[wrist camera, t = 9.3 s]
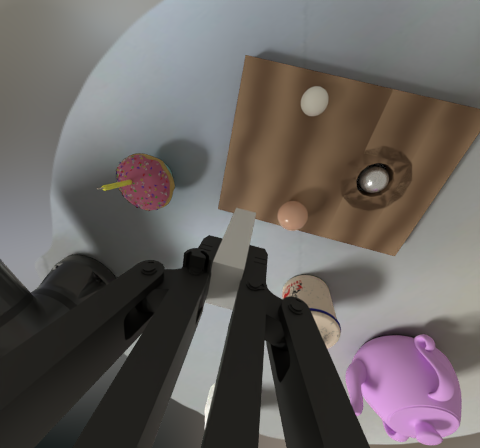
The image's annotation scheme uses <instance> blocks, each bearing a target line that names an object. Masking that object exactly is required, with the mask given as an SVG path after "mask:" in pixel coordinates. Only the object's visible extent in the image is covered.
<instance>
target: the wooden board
mask: <svg viewBox="0 0 480 448" xmlns="http://www.w3.org/2000/svg"><path fill="white" fill-rule="evenodd" d="M314 86H319V87H322V88H324V89H325V90H326V92H327V94H328V105H327V107H326V109H325V110H324V111H323V112H322V113H321V114H319V115H317V116H308V115H306V114H305V113H304V112H303V111H302V108H301V99H302V96H303V94H304V93H305V92H306V91H307V90H308V89H309V88H311V87H314ZM479 132H480V109H477V108H473V107H469V106H464V105H460V104H456V103H451V102H447V101H443V100H438V99H434V98H430V97H425V96H421V95H417V94H412V93H408V92H404V91H399V90H395V89H391V88H386V87H382V86H378V85H373V84H369V83H365V82H360V81H356V80H352V79H347V78H343V77H339V76H334V75H330V74H326V73H321V72H317V71H313V70H308V69H304V68H300V67H295V66H291V65H287V64H282V63H278V62H274V61H269V60H265V59H261V58H256V57H252V56H248V55H246V56H245V62H244V67H243V73H242V78H241V84H240V90H239V95H238V101H237V106H236V112H235V117H234V123H233V128H232V134H231V140H230V145H229V151H228V156H227V162H226V167H225V173H224V178H223V184H222V190H221V195H220V201H219V206H218V209H220V210H224V211H228V212H232V213H234V212H235V209H236V208H239V209H243V210H247V211H251V212H255V213H256V217H255V219H258V220H261V221H265V222H269V223H273V224H276V225H280V223H279V221H278V217H277V214H278V210H279V208H280V207H281V206H282V205H283V204H284V203H286V202H288V201H297V202H300V203H302V204H303V205H304V206H305V207H306V209H307V212H308V220H307V222H306V224H305V225H304V226H303V227H302V228H301V229H298V230H299V231H302V232H306V233H310V234H314V235H317V236H321V237H325V238H329V239H332V240H336V241H340V242H344V243H347V244H351V245H355V246H358V247H362V248H366V249H370V250H373V251H377V252H381V253H385V254H388V255H392V256H395V255H396V254H397V252H398V251H399V249H400V248H401V246H402V245H403V244H404V242H405V241H406V239H407V238H408V236H409V235H410V233H411V232H412V230H413V229H414V227H415V226H416V224H417V223H418V222H419V220H420V219H421V217H422V216H423V214H424V213H425V211H426V210H427V208H428V207H429V205H430V204H431V202H432V201H433V200H434V198H435V197H436V195H437V194H438V192H439V191H440V189H441V188H442V186H443V185H444V183H445V182H446V181H447V179H448V178H449V176H450V175H451V173H452V172H453V170H454V169H455V167H456V166H457V164H458V163H459V161H460V160H461V159H462V157H463V156H464V154H465V153H466V151H467V150H468V148H469V147H470V145H471V144H472V142H473V141H474V140H475V138H476V137H477V135H478V134H479ZM376 163H382V164H384V165H385V167H386V171H387V172H388V175H389V182H388V184H387V186H386V187H385V188H384V189H383V190H381V191H379V192H375V193H370V192H366V191H361V190H358V189H357V184H356V180H357V178H358V176H359V174H360V172H361V171H362V170H363V169H365V168H366V167H367V166H368V165H372V164H376ZM280 226H281V225H280Z"/></svg>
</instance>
